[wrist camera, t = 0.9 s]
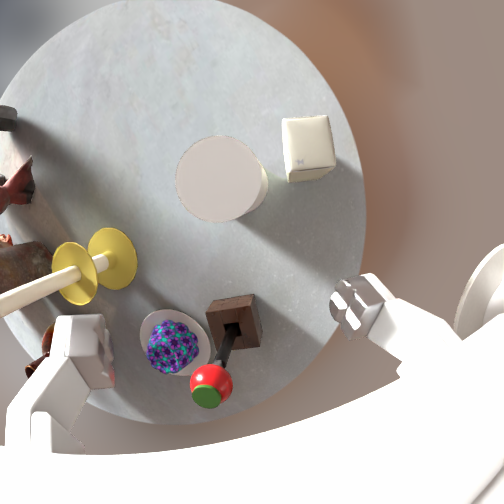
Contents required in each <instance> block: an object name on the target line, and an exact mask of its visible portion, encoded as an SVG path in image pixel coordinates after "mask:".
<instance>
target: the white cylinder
mask: <svg viewBox="0 0 504 504" xmlns="http://www.w3.org/2000/svg"><path fill="white" fill-rule="evenodd" d="M175 186H176V191H177V194H178V197H179V199H180V201H181V203H182V204H183V206H184V207H185V208H186V209H187V211H188V212H190V213H191V214H192V215H193V216H195V217H197V218H199V219H201V220H204V221H207V222H213V223H221V222H227V221H231V220H233V219H236V218H238V217H240V216H243V215H245V214H247V213H249V212H251V211H253V210H255V209H256V208H257V207H258V206H259V205H260V204H261V203H262V202H263V200H264V199H265V197H266V194H267V190H268V178H267V174H266V172H265V170H264V168H263V167H262V165H261V163H260V162H259V160H258V159H257V157H256V156H255V154H254V153H253V152H252V150H251V149H250V148H249V147H248V146H247V145H245V144H244V143H243V142H241V141H239V140H237V139H235V138H232V137H229V136H211V137H207V138H204V139H201V140H199V141H198V142H196V143H194V144H193V145H192V146H191V147H190V148H188V150H187V151H186V152H185V153H184V154H183V156H182V157H181V159H180V161H179V163H178V166H177V170H176V175H175Z"/></svg>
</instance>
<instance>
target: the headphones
mask: <svg viewBox="0 0 504 504" xmlns="http://www.w3.org/2000/svg"><path fill="white" fill-rule="evenodd" d="M16 119H17V111H16V109H15V108H12V107H9V106H5V105H0V131H9V132H12V131H14V130H15V126H16ZM4 180H5V177H4V176H3V175H1V174H0V186H3V185H4Z"/></svg>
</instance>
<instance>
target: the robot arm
mask: <svg viewBox="0 0 504 504" xmlns="http://www.w3.org/2000/svg"><path fill="white" fill-rule="evenodd" d="M335 290H336V292H335V294H334V295H333V296H332V297H331V300H330V303H329V306H330V312H331V315H332V317H333V318H334V320H335V321H337V322H339V323H341V330H342V332H343V333H344V334H345V336H346V337H347V339H348V340H349V341H352V340H356V339H359V338H362V337H365V336H367V338H368V339H370V340H371V341H373V342H374V343H376V344H377V345H379V346H380V347H382V348H384V349H385V350H386V351H388V352H389V353H391V354H392V355H394V356H395V357H397V358H398V359H400V360H401V361H403V362H402V363H401V365H400V366H399V367H398V368H397V373H398V374H399V376H400V377H401V378H400V379H398V380H396V381H394V382H393V383H391V384H389V385H387V386H385V387H383V388H380V389H378V390H377V391H374V392H372V393H370V394H368V395H366V396H364V397H361V398H359V399H357V400H354V401H352V402H350V403H347V404H345V405H342V406H340V407H338V408H335V409H332V410H330V411H327V412H325V413H322V414H319V415H317V416H314V417H311V418H308V419H305V420H303V421H299V422H296V423H293V424H290V425H287V426H284V427H281V428H277V429H274V430H270V431H267V432H263V433H260V434H256V435H252V436H248V437H243V438H239V439H235V440H230V441H226V442H221V443H216V444H211V445H206V446H200V447H194V448H187V449H181V450H173V451H165V452H156V453H144V454H128V455H85V448H84V445H83V444H82V443H81V442H80V441H79V440H78V439H76V438H75V437H74V436H73V435H72V434H70V432H71V430H72V428H73V426H74V423H75V422H76V420H77V418H78V416H79V413H80V412H81V410H82V408H83V406H84V404H85V402H86V400H87V398H88V396H89V394H90V392H91V390H93V389H105V388H115V381H114V369H113V367H112V365H111V362H112V361H113V359H114V351H113V343H112V339H111V335H110V333H109V331H108V330H107V329H105V319H104V317H103V314H101V313H99V314H83V315H71V316H59V317H58V318H57V320H56V324H55V329H54V334H53V340H52V346H51V352H50V358H45V360H44V361H43V362H42V363H41V364H40V366H39V367H38V368H37V370H36V371H35V372H34V373H33V375H32V376H31V377H30V378H29V380H28V381H27V382H26V384H25V385H24V386H23V388H22V389H21V390H20V392H19V393H18V394H17V396H16V397H15V399H14V400H13V401H12V403H11V404H10V406H9V407H8V410H7V422H6V435H5V447H3V446H0V504H504V278H503V281H502V283H501V284H500V286H499V287H498V288H497V290H496V291H495V293H494V294H493V296H492V298H491V300H490V302H489V304H488V306H487V309H486V312H485V315H484V320H483V327H482V328H480V329H479V330H477V331H476V332H475V333H473V334H472V335H471V336H469V337H468V338H466V339H465V340H463V341H462V340H461V339H460V337H459V336H458V335H457V334H456V333H455V332H454V330H453V329H452V328H451V327H450V326H449V325H448V324H447V322H446V321H445V320H443V319H441V318H439V317H437V316H435V315H433V314H431V313H429V312H426V311H425V310H422V309H420V308H418V307H416V306H414V305H412V304H410V303H408V302H406V301H404V300H402V299H396V298H395V297H394V296H393V294H392V293H391V292H390V291H389V290H388V289H387V288H386V287H385V286H384V285H383V284H382V282H380V280H379V279H377V277H376V276H375V275H374V274H372V273H369V274H364V275H360V276H354V277H349V278H345V279H340V280H339V281H338V282H337V283H336V285H335Z"/></svg>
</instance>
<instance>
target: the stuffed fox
mask: <svg viewBox="0 0 504 504" xmlns="http://www.w3.org/2000/svg"><path fill="white" fill-rule="evenodd" d="M32 162H33V160H32V157H31V156H30V158H29V159H28V160H27V161H26V162H25V163H24V164H23V166H21V168H20V169H19V170H17V171H16V172H15V173H14V174H13V175H12V176H11V177H10V178H9V180H8V181H7V182H6V183H5V184H4V186H0V215H1V214H2V213H3V212H4V211H5V210H6V208H7V207H8V205H10V204H17V205H24V204H29V203H31V199H32V197H33V193H34V190H35V183H34V180H33V176H32V173H31V166H32Z"/></svg>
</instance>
